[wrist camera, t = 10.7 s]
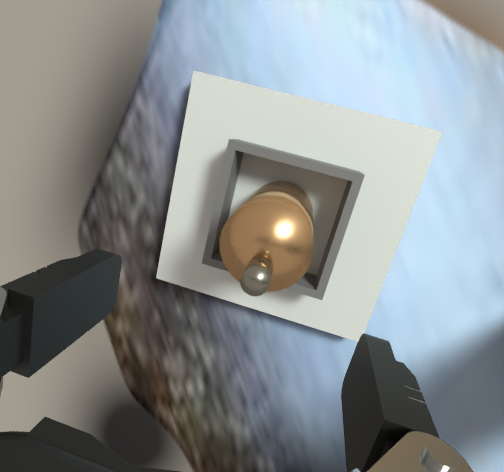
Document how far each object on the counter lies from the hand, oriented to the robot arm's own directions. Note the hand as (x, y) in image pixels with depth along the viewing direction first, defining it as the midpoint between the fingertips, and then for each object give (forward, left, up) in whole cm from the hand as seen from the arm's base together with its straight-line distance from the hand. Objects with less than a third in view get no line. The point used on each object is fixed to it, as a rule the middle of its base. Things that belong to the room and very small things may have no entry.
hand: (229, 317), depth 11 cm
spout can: (0, 0, -17) cm, 17 cm away
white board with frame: (0, 0, -19) cm, 19 cm away
